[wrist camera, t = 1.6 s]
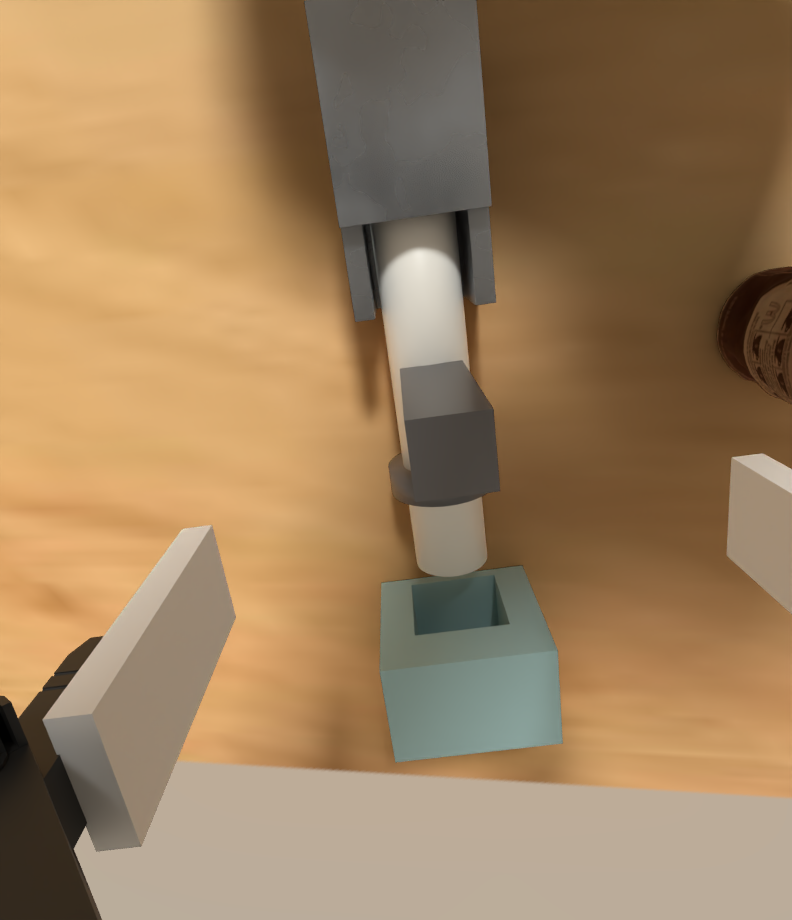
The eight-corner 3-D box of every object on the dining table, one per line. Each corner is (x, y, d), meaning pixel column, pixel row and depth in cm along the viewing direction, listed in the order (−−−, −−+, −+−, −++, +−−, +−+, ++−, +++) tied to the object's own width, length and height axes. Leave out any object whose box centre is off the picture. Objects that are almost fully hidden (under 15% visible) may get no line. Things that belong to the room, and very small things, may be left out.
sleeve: (322, 53, 29) (304, 0, 23) (455, 32, 29) (474, -27, 22) (361, 309, 33) (354, 324, 27) (478, 292, 33) (499, 304, 26)
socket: (381, 582, 39) (379, 671, 31) (522, 565, 38) (557, 650, 30) (394, 660, 41) (395, 762, 33) (528, 644, 40) (562, 743, 32)
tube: (333, 73, 29) (287, -67, 16) (450, 55, 28) (502, -102, 16) (401, 541, 37) (409, 700, 24) (493, 529, 37) (549, 683, 24)
